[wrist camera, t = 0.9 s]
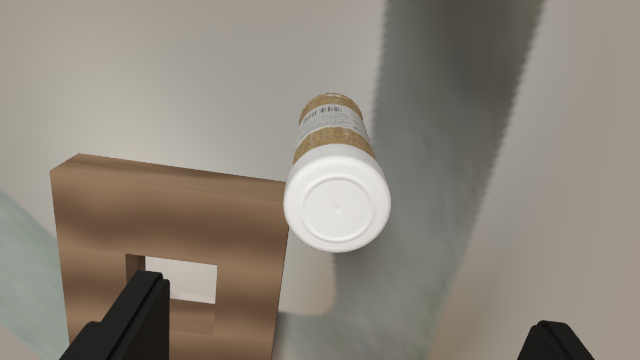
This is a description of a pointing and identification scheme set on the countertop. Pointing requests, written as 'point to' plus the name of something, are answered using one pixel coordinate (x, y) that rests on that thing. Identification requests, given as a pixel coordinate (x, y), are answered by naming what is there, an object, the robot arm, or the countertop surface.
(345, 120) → the sprinkles bottle
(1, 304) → the countertop surface
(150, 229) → the walnut hole board
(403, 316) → the countertop surface
